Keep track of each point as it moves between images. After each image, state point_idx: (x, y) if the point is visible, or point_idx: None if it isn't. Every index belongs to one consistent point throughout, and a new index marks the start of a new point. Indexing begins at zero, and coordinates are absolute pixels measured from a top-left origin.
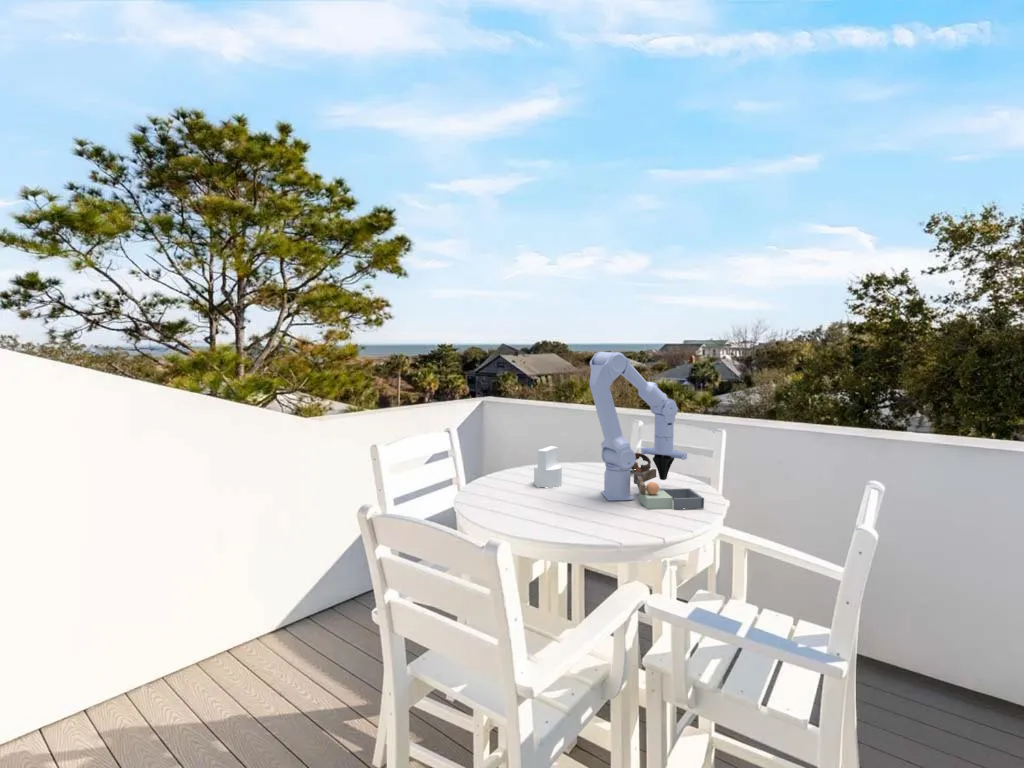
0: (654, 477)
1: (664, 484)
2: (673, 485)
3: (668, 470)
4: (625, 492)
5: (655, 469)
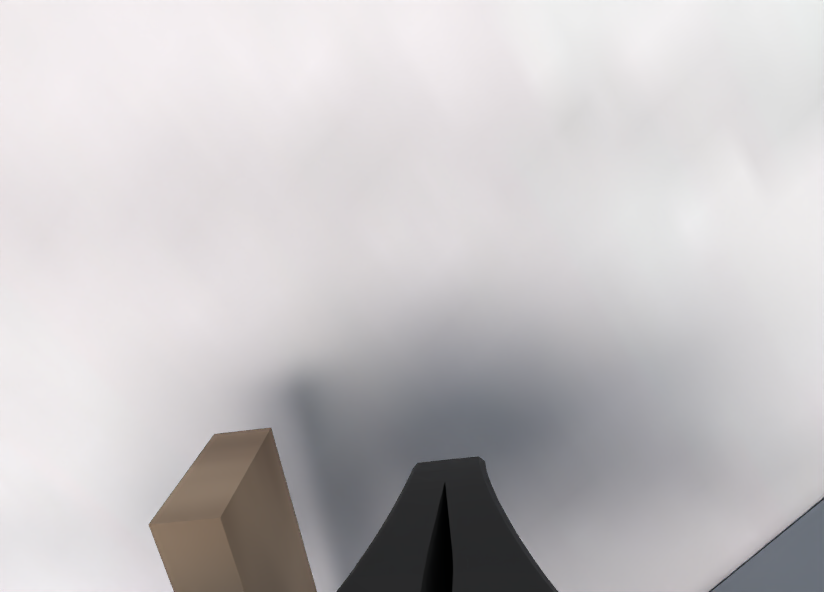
0: (283, 481)
1: (267, 136)
2: (383, 83)
3: (518, 546)
4: None
5: (231, 550)
